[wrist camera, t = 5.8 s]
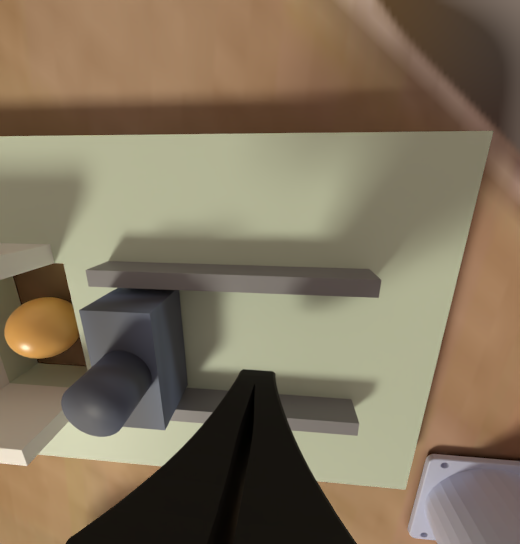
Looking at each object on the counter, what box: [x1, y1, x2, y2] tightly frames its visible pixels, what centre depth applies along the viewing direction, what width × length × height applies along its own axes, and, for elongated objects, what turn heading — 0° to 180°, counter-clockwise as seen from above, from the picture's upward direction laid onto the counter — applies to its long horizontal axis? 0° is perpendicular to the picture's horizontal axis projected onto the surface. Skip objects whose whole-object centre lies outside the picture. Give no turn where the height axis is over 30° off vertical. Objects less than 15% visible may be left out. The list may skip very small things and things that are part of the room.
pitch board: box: [0, 131, 493, 490], centre depth 14 cm, size 28×20×4 cm
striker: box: [61, 288, 188, 437], centre depth 12 cm, size 3×6×5 cm, turn 0°
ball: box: [4, 297, 80, 359], centre depth 15 cm, size 4×4×4 cm
